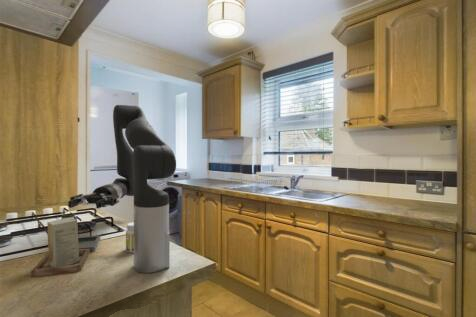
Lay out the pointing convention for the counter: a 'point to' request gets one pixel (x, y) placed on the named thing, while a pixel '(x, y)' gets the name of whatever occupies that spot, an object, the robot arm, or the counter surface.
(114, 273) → the counter surface
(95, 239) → the charcoal seat plate
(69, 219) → the skincare box
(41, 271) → the frame
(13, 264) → the counter surface
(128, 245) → the supplement bottle
